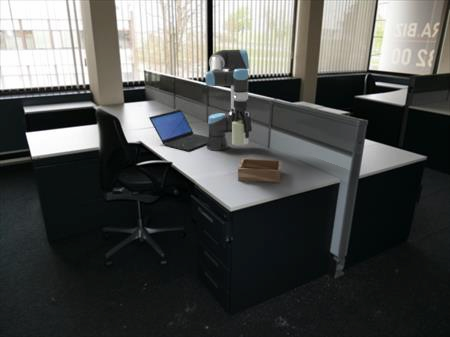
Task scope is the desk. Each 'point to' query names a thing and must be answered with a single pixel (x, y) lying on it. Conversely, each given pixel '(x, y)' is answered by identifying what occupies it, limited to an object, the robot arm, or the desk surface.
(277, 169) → the walled box
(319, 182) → the desk surface
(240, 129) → the can
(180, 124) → the laptop
